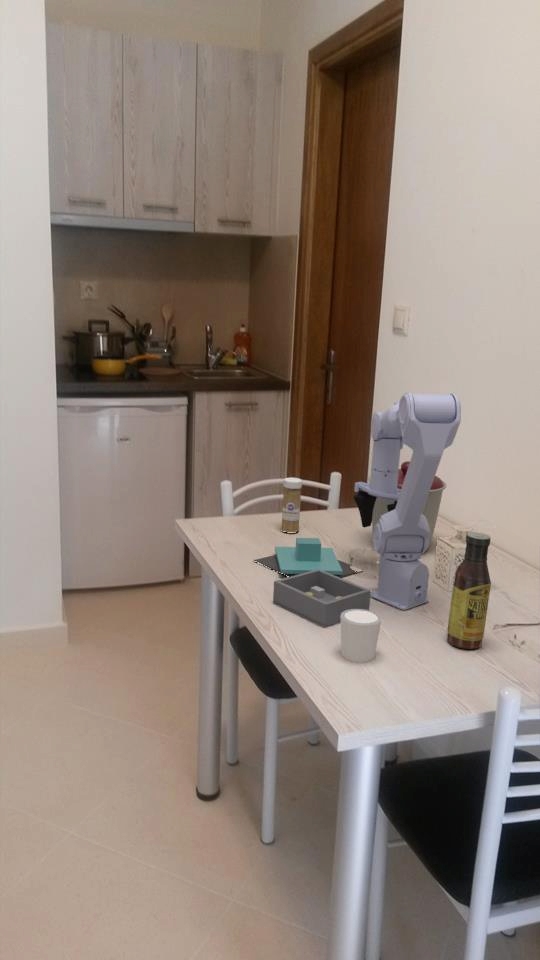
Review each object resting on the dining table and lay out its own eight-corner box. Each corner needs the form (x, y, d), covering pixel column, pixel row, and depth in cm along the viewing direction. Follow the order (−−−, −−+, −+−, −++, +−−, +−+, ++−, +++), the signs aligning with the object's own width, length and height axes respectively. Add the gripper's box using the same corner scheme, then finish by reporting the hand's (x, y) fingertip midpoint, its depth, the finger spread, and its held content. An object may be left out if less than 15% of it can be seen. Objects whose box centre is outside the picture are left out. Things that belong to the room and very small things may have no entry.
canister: (392, 531, 205) (399, 450, 200) (454, 549, 192) (463, 464, 187) (347, 545, 192) (354, 459, 187) (410, 566, 180) (419, 474, 175)
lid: (342, 578, 169) (343, 552, 168) (280, 576, 168) (281, 551, 167) (331, 554, 184) (333, 531, 182) (274, 553, 183) (275, 529, 181)
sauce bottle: (466, 654, 137) (478, 543, 133) (438, 640, 142) (450, 533, 138) (490, 645, 141) (504, 537, 137) (463, 632, 146) (475, 528, 141)
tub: (368, 612, 153) (370, 590, 152) (324, 627, 145) (325, 604, 144) (317, 589, 163) (318, 568, 162) (272, 603, 155) (274, 581, 154)
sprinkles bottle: (282, 534, 198) (285, 481, 195) (279, 528, 202) (282, 476, 199) (300, 534, 199) (303, 481, 195) (297, 528, 203) (300, 477, 200)
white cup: (329, 653, 135) (331, 614, 134) (355, 642, 140) (358, 604, 138) (360, 668, 131) (364, 628, 129) (386, 656, 135) (390, 617, 134)
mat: (363, 571, 175) (363, 569, 175) (310, 586, 164) (310, 585, 164) (305, 548, 188) (306, 547, 188) (253, 561, 177) (253, 560, 177)
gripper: (424, 474, 167) (418, 536, 170) (371, 460, 177) (367, 519, 180) (402, 478, 162) (396, 542, 165) (349, 464, 172) (345, 524, 176)
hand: (379, 531), depth 172 cm, fingers open, 7 cm apart
